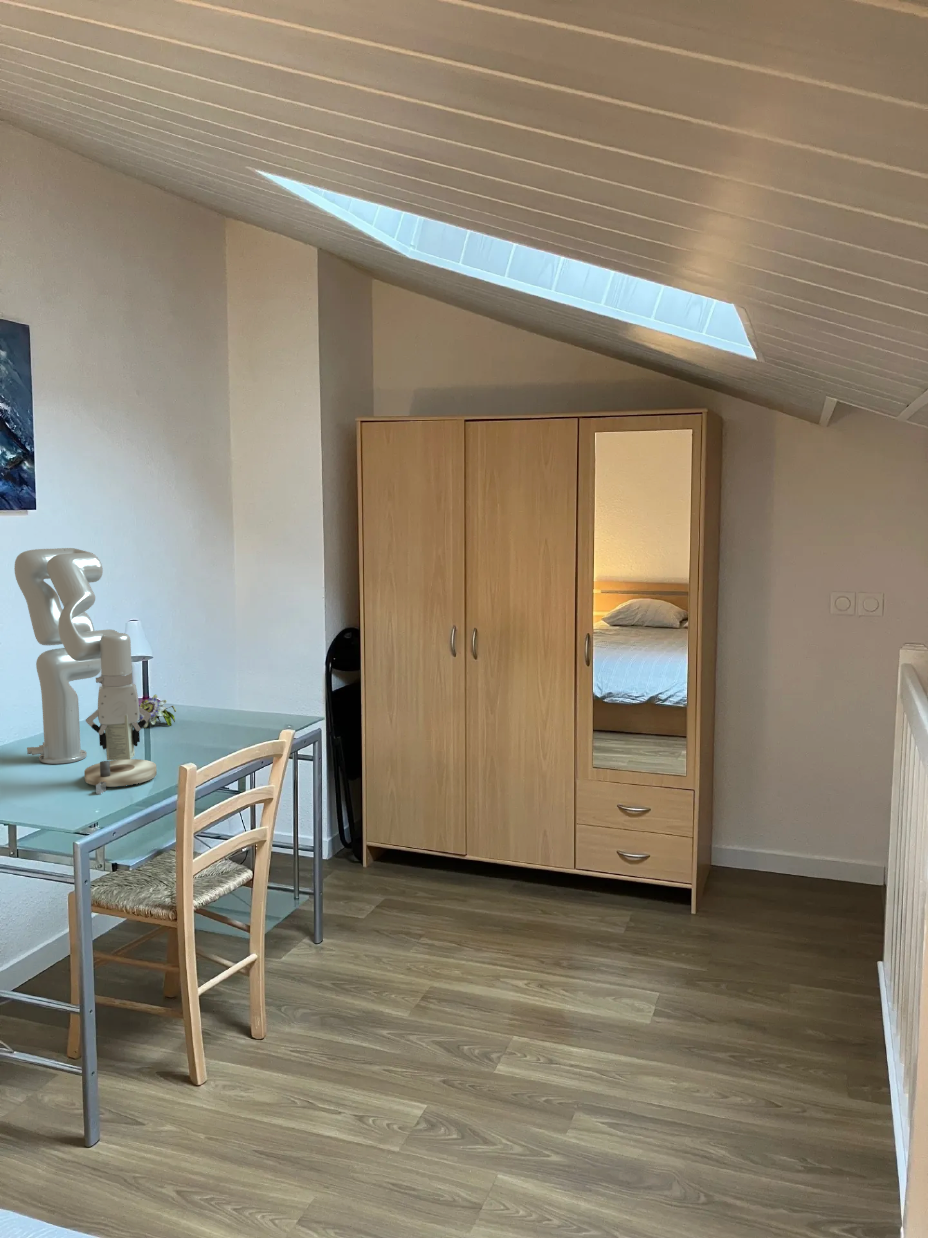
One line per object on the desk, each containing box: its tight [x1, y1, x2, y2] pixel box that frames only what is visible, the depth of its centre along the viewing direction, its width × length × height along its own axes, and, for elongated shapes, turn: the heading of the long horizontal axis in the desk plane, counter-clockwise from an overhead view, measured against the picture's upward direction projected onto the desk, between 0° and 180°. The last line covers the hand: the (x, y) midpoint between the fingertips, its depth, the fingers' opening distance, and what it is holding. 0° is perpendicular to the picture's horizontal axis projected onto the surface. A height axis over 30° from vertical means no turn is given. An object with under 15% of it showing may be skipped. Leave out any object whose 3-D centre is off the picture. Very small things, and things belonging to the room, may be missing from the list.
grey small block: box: [95, 781, 107, 795], centre depth 249 cm, size 4×1×2 cm, turn 175°
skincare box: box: [104, 715, 136, 761], centre depth 259 cm, size 6×4×12 cm
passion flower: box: [139, 694, 177, 729], centre depth 321 cm, size 11×11×12 cm
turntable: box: [84, 758, 158, 788], centre depth 260 cm, size 18×18×6 cm
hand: (119, 746), depth 259 cm, fingers closed on skincare box, 7 cm apart
